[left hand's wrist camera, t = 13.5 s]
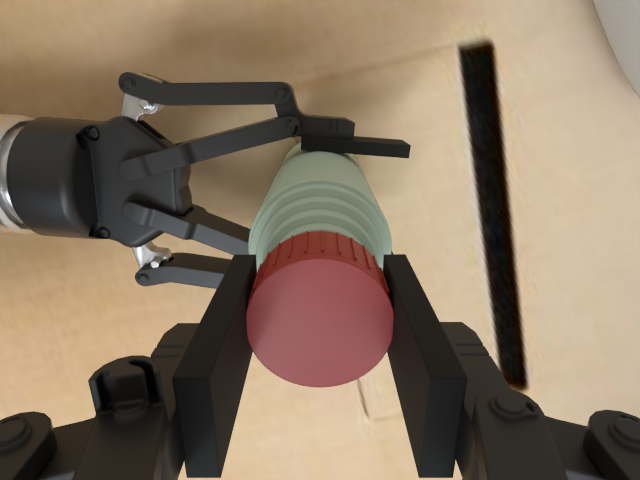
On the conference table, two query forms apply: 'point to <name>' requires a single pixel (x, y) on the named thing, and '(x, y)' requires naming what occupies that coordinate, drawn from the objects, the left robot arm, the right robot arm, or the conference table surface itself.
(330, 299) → the cap
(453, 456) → the left robot arm
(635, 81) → the projector
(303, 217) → the bottle
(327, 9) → the conference table surface
